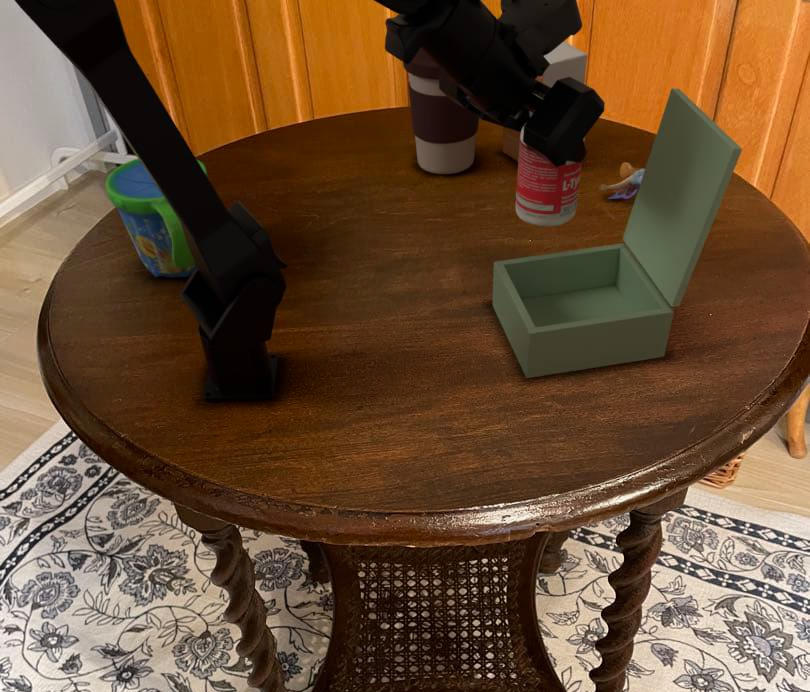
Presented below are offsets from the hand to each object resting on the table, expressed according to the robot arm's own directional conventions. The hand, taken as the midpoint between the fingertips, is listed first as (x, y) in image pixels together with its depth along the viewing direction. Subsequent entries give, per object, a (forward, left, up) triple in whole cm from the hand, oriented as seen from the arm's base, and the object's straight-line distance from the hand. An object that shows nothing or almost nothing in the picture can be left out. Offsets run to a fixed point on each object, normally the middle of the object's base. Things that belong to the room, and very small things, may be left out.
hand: (562, 145), depth 83 cm
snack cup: (+5, +42, -14) cm, 44 cm away
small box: (+27, -1, -14) cm, 30 cm away
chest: (-11, -1, -13) cm, 18 cm away
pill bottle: (-1, +1, -7) cm, 7 cm away
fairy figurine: (+13, -13, -14) cm, 23 cm away
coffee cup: (+27, +11, -14) cm, 32 cm away
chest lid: (-10, -9, -1) cm, 13 cm away
